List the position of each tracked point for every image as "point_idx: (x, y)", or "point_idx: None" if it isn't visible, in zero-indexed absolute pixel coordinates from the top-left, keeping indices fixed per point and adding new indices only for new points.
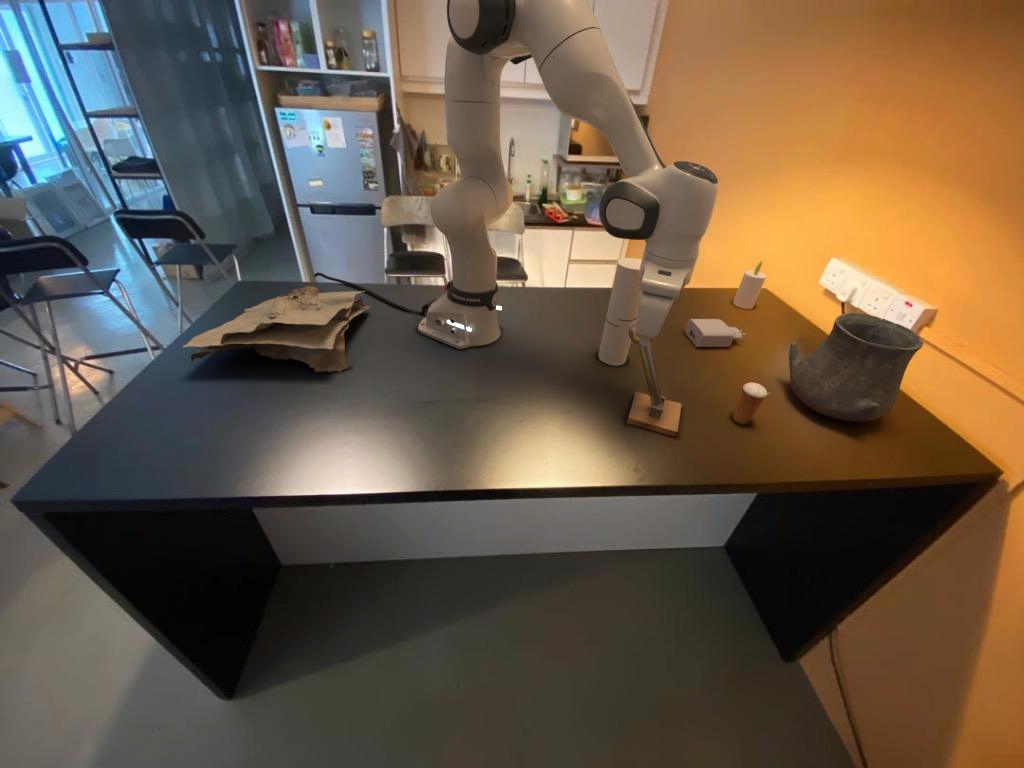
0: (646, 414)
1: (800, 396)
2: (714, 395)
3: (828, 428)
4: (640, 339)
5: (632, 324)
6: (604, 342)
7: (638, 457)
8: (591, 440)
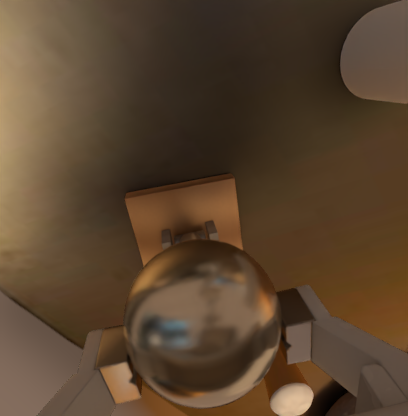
0: (162, 226)
1: (350, 401)
2: (318, 292)
3: (307, 410)
4: (85, 354)
5: (169, 304)
6: (400, 15)
7: (43, 246)
8: (8, 150)
